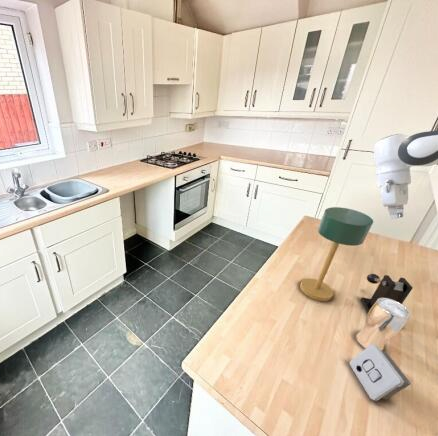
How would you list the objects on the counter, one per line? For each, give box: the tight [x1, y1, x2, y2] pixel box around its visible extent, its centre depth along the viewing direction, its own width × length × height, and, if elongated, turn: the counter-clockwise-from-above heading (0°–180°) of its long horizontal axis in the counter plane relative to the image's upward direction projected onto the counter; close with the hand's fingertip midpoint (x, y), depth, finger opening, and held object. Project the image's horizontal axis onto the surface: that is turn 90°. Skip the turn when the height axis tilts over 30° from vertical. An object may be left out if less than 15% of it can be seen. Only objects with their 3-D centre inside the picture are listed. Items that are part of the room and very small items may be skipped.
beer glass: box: [355, 298, 411, 351], centre depth 67 cm, size 7×7×15 cm
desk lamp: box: [299, 206, 374, 302], centre depth 82 cm, size 12×12×32 cm
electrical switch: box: [349, 345, 412, 402], centre depth 60 cm, size 9×5×9 cm, turn 173°
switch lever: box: [366, 273, 404, 291], centre depth 80 cm, size 14×3×3 cm, turn 163°
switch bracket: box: [360, 274, 414, 313], centre depth 77 cm, size 9×7×14 cm
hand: (397, 218), depth 88 cm, fingers open, 8 cm apart
